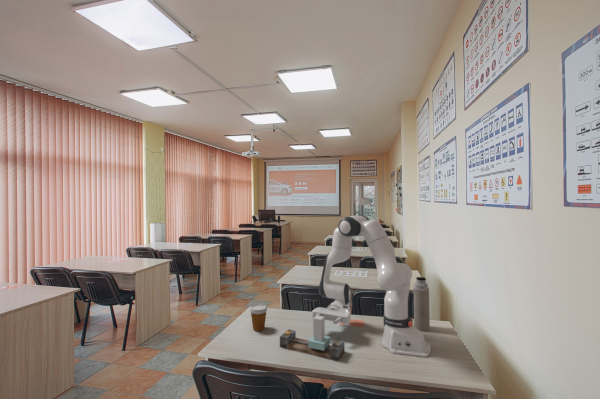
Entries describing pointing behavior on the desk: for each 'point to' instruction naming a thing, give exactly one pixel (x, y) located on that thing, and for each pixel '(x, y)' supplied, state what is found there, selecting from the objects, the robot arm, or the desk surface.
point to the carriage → (319, 335)
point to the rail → (301, 345)
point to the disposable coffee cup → (258, 317)
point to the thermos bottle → (421, 305)
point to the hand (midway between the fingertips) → (325, 320)
